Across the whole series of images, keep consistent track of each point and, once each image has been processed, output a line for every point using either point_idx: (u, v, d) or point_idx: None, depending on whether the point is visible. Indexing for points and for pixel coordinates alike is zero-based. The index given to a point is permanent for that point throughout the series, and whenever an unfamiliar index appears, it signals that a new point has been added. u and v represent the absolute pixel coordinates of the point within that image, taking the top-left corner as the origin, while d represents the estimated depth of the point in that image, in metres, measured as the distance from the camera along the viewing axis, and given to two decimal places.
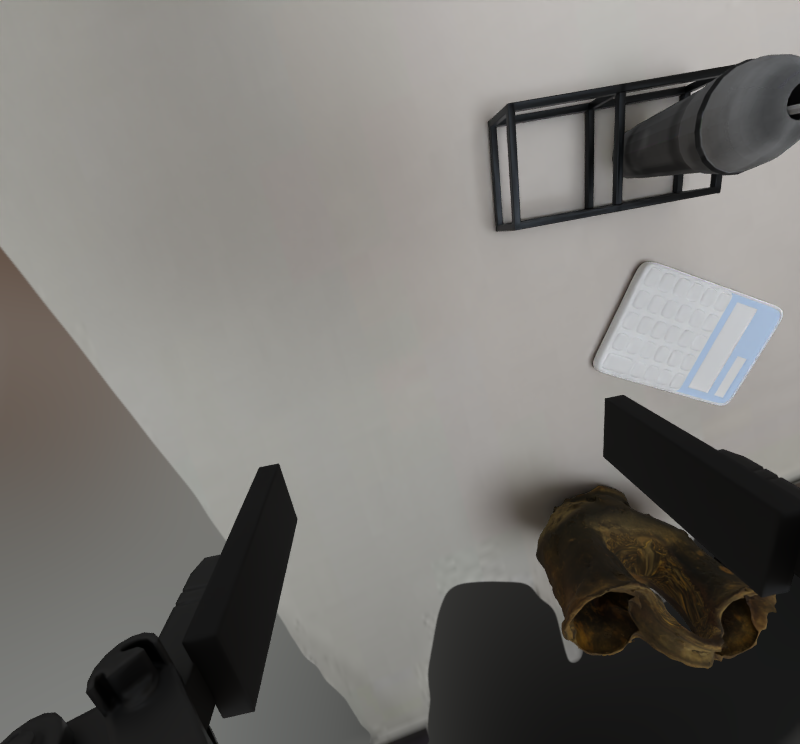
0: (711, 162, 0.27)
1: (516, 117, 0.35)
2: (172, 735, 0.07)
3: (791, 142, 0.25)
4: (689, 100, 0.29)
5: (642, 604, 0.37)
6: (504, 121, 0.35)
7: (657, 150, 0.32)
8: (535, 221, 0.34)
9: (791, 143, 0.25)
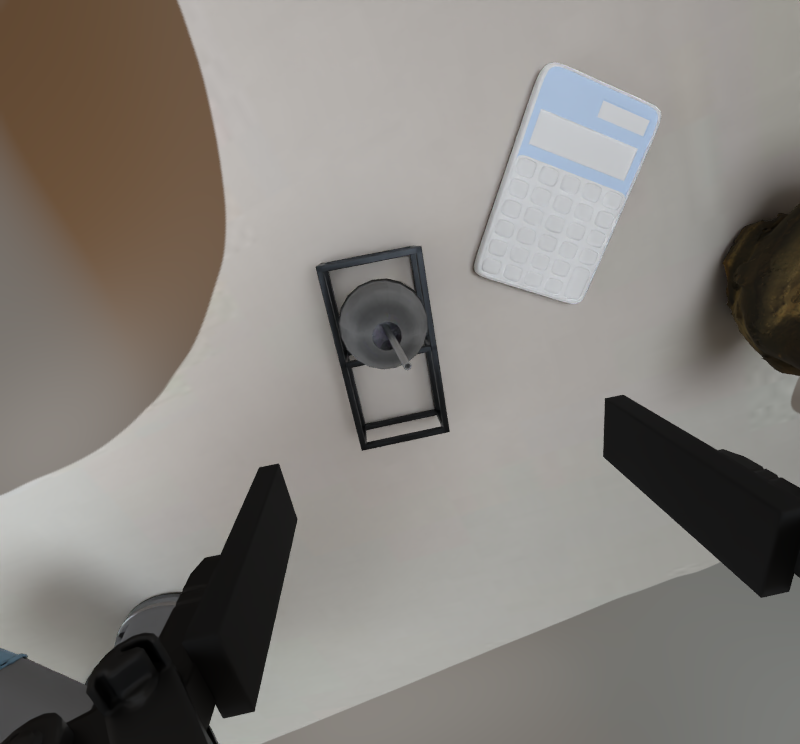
0: None
1: (358, 412, 0.44)
2: (172, 735, 0.06)
3: (414, 318, 0.27)
4: None
5: None
6: (361, 420, 0.45)
7: None
8: (443, 417, 0.41)
9: (415, 316, 0.27)
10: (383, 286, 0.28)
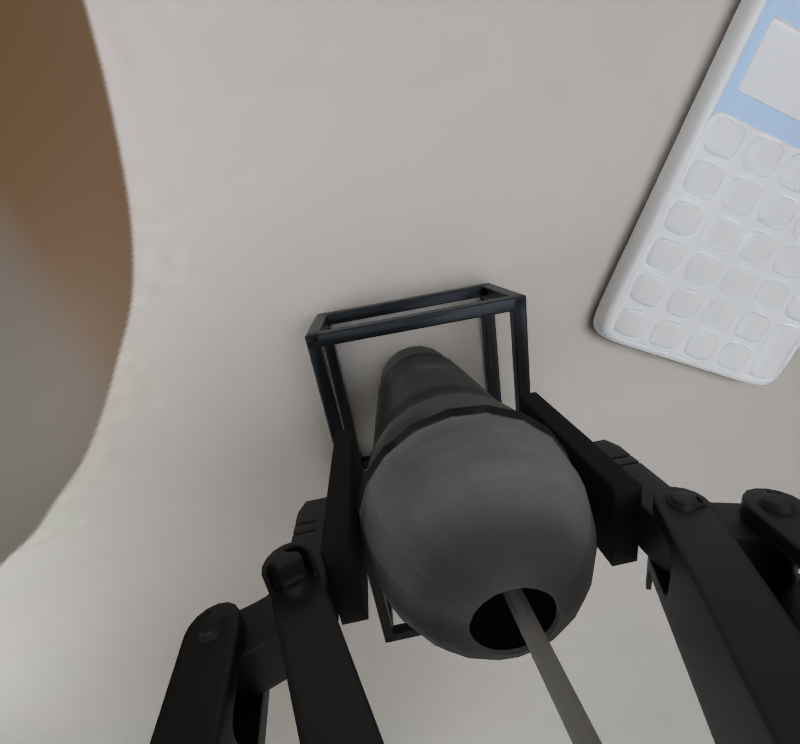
0: None
1: None
2: (319, 627, 0.08)
3: (588, 552, 0.09)
4: None
5: None
6: None
7: None
8: None
9: (588, 545, 0.09)
10: (490, 446, 0.10)
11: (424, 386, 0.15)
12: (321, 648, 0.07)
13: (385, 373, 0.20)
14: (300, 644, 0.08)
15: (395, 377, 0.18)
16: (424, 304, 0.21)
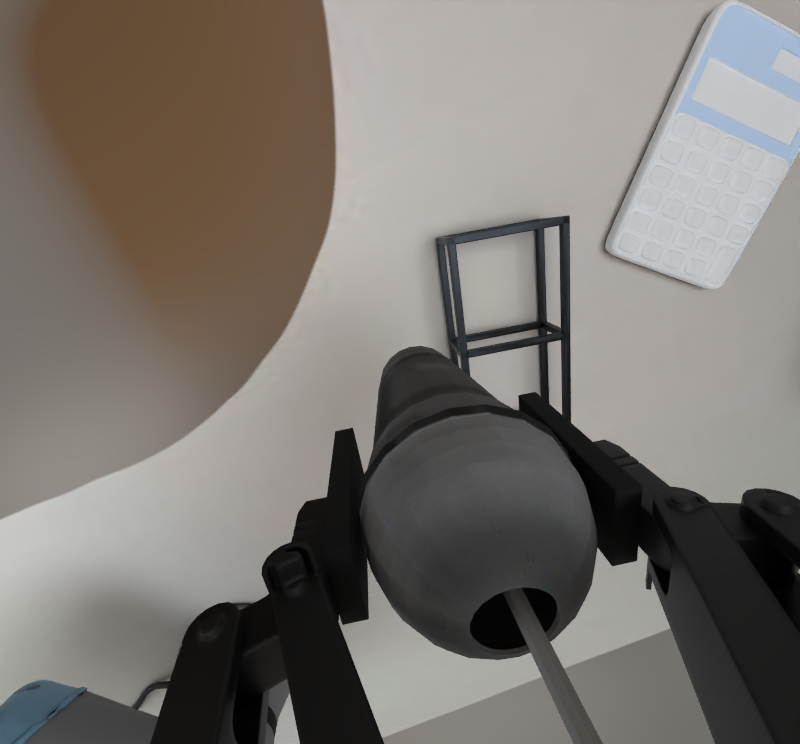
0: None
1: None
2: (319, 627, 0.08)
3: (589, 551, 0.09)
4: None
5: None
6: None
7: None
8: (566, 415, 0.36)
9: (589, 544, 0.09)
10: (491, 445, 0.10)
11: (424, 386, 0.15)
12: (321, 648, 0.07)
13: (385, 373, 0.20)
14: (300, 644, 0.08)
15: (395, 377, 0.18)
16: None
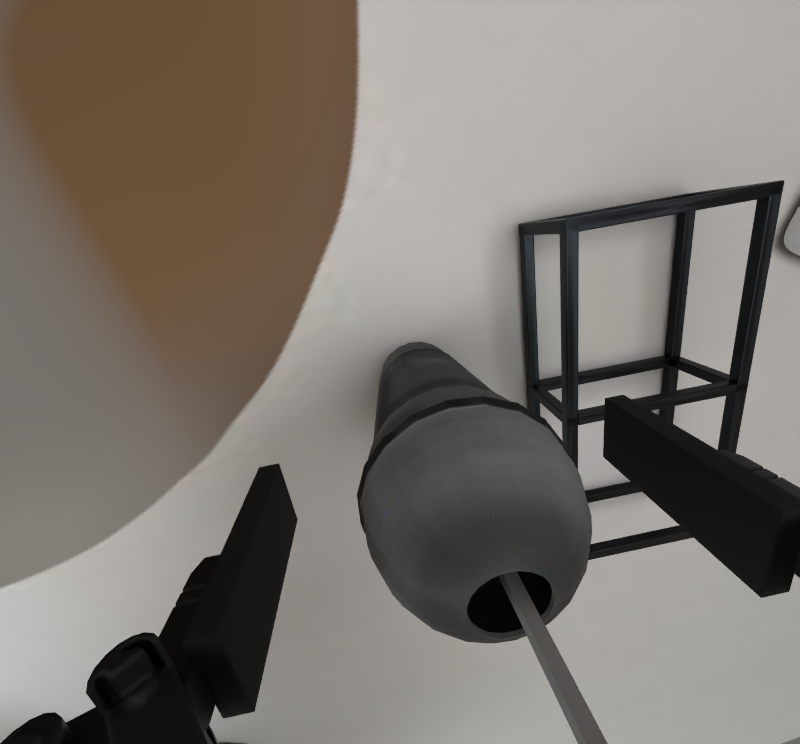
0: None
1: None
2: (172, 735, 0.07)
3: (583, 538, 0.09)
4: None
5: None
6: None
7: None
8: None
9: (583, 531, 0.09)
10: (487, 435, 0.10)
11: (423, 379, 0.15)
12: None
13: (385, 368, 0.21)
14: None
15: (395, 372, 0.18)
16: None
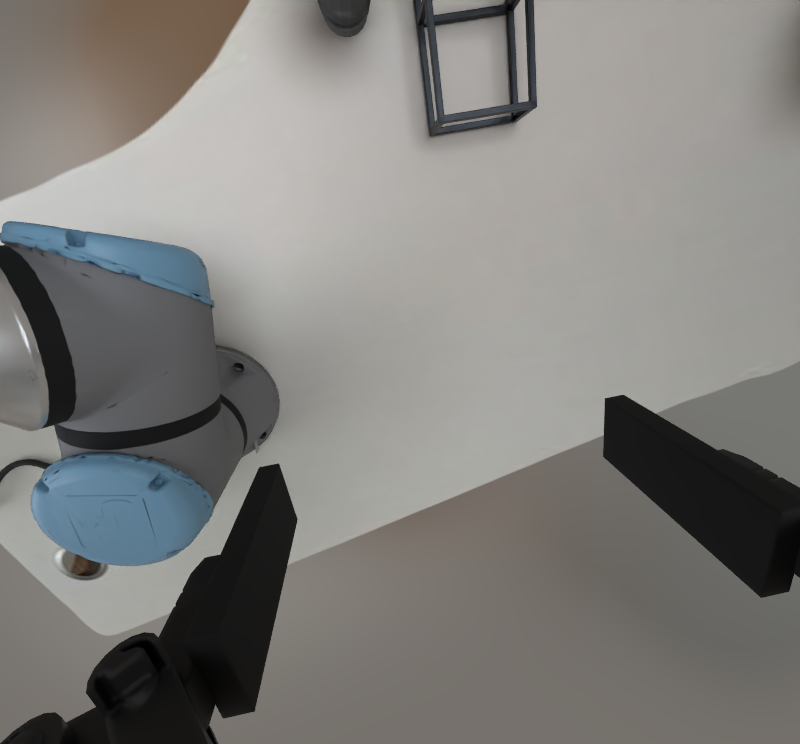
0: None
1: (429, 107, 0.40)
2: (172, 735, 0.07)
3: None
4: None
5: None
6: (432, 120, 0.40)
7: (356, 1, 0.31)
8: (531, 83, 0.36)
9: None
10: None
11: None
12: None
13: None
14: None
15: None
16: None
